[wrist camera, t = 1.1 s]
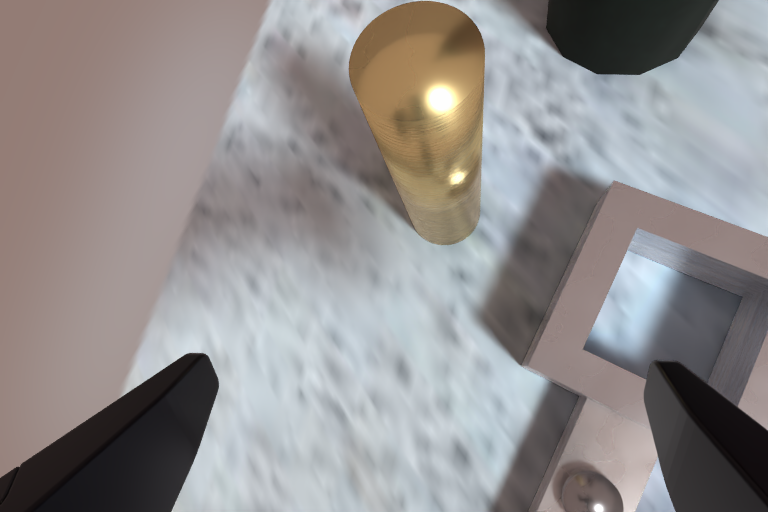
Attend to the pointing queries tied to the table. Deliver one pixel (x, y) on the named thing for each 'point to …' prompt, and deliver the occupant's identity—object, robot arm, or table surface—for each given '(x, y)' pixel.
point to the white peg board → (618, 386)
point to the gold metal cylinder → (426, 111)
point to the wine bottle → (625, 31)
